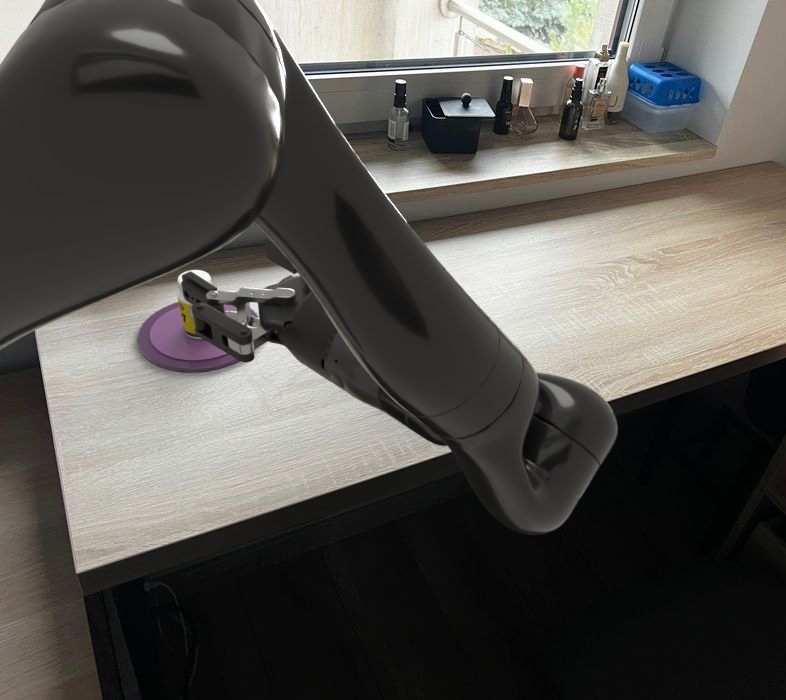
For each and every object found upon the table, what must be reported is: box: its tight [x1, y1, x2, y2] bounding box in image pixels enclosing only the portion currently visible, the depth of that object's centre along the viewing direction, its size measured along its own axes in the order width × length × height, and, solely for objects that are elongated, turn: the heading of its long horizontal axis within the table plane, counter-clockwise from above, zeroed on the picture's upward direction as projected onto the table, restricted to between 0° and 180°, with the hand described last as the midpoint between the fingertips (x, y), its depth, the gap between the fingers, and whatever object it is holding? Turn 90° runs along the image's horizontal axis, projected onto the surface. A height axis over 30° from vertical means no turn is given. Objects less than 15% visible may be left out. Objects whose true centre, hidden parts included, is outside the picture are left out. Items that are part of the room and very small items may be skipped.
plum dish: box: [137, 301, 259, 373], centre depth 98 cm, size 16×16×1 cm
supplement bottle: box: [176, 269, 212, 339], centre depth 95 cm, size 5×5×8 cm
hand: (229, 263), depth 62 cm, fingers open, 8 cm apart
